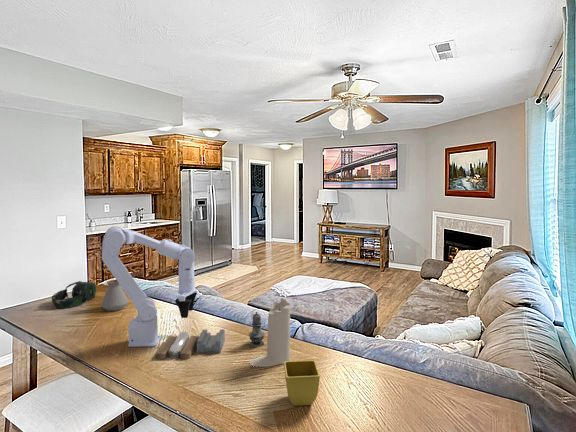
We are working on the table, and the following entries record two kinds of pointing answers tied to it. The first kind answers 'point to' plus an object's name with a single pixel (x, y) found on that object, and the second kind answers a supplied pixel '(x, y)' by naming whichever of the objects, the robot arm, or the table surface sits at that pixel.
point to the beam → (185, 352)
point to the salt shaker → (256, 332)
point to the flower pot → (302, 381)
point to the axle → (178, 345)
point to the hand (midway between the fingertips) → (187, 313)
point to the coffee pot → (115, 296)
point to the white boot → (277, 336)
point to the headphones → (74, 295)
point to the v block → (210, 342)
